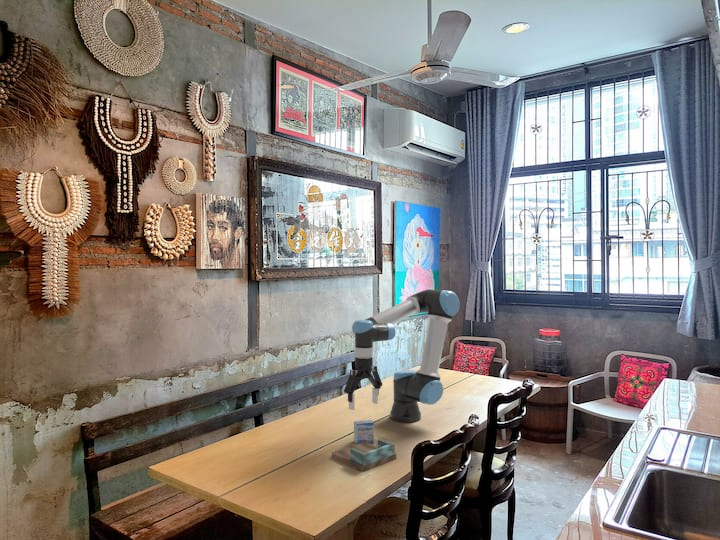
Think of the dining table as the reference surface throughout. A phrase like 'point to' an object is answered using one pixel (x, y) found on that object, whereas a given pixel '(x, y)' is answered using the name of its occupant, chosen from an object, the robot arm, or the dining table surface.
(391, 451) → the dock
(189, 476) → the dining table surface
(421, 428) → the dining table surface
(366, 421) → the medicine box
